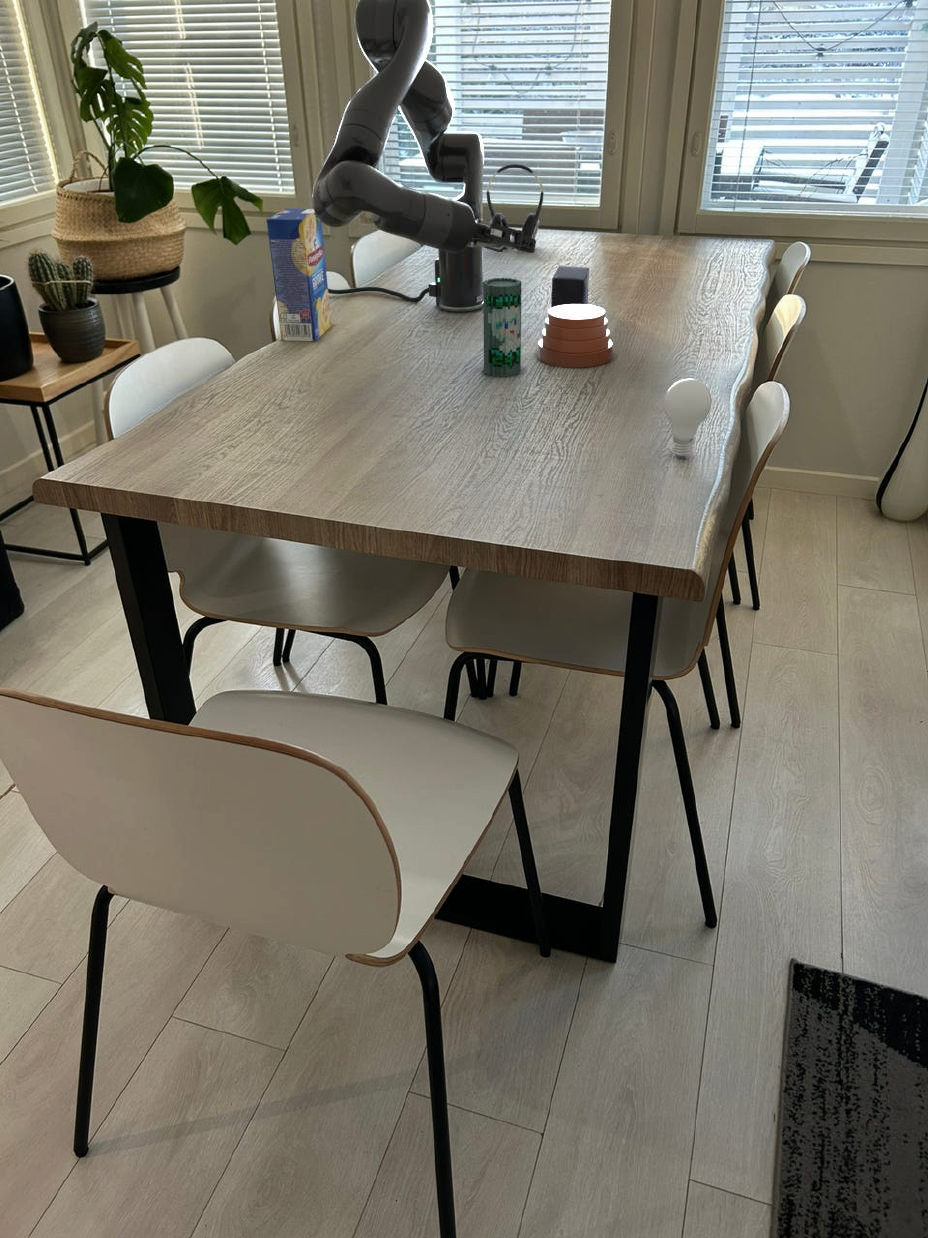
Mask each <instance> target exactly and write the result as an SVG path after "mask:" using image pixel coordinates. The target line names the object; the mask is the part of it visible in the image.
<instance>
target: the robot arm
mask: <svg viewBox="0 0 928 1238" xmlns="http://www.w3.org/2000/svg"><path fill="white" fill-rule="evenodd" d="M433 21H434V20H433V12H432V8H431V4H430V2H429V0H358V2H357V3H356V7H355V10H354V27H355V33H356V37H357V40H358V43H359V47H360V48H361V51H362V52H363V55H364V56H365V57H366V59H367V61H368V62H369V63H370V65H371V66H372V67H373V68H374V70H375V71H376V74H375V75H374V76H373V77H372V78H371V79H369V80H368V81H367V82H366V83H365V84H363V86H361V88H359V90H358V91H357V92H356V93H355V94H354V95H353V96H352V98H351V100H350V101H349V102H348V104H347V106H346V108H345V111H344V113H343V116H342V120H341V122H340V125H339V128H338V132H337V135H336V138H335V142H334V145H333V146H332V149H331V151H330V153H329V154H328V156H327V158H326V159H325V162H324V163H323V166H322V168H321V169H320V171H319V174H318V175H317V177H316V180H315V181H314V184H313V188H312V194H311V203H312V209H314V211H315V213H316V215H317V217H318V218H319V219H320V221H322V224H324V225H325V226H328V227H330V228H335V229H336V228H337V229H338V228H343V227H345V226H347V225H349V224H351V223H352V222H353V221H354V220H355V219H357V218H358V217H359V216H360V215H361V214H362V213H365V212H366V213H371V219H372V222H373V224H374V226H375V227H376V228H377V229H378V230H380V231H382V232H383V233H387V234H390V235H393V236H397V237H401V238H404V239H407V240H410V241H412V242H414V243H416V244H419V245H421V246H426V247H429V248H433V249H436V250H437V258H436V259H434V281H433V282H430V283H428V287H426V288H424V289H423V290H422V291H421V292H420V293H419V295H418V296H415V297H411V296H409V295H407V294H404V293H403V292H399V291H396V290H393V289H389V288H385V287H381V286H361V287H360V286H359V287H352V288H344V289H332V288H328V294H330V295H346V294H354V293H363V292H378V293H384V294H387V295H390V296H393V297H398V298H400V299H402V300H405V301H407V302H413V303H417V302H420V301H422V300H423V299H424V297H425V296H426V295H427V294H428V297H431V298H432V297H433V298H435V306H436V307H438V308H439V309H440V310H443V311H446V312H452V313H453V312H454V313H467V312H474V311H478V310H481V309H482V308H483V282H484V251H483V250H484V249H487V250H490V251H494V252H497V253H502V252H503V251H504V248H508V249H511V250H518V251H521V252H524V253H527V254H534V252H535V250H536V245H537V240H536V238H535V239H533V238H530V237H527V236H523V232H522V229H521V230H520V229H515V228H511V227H509V226H508V227H509V228H508V227H505V226H502V225H498V224H497V223H490V222H489V221H488V220H485V219H483V201H484V200H483V199H484V198H483V190H484V189H483V186H484V166H485V165H484V162H485V152H484V151H485V150H484V143H483V139H482V136H481V135H480V134H479V133H477V132H474V131H447V130H448V128H449V127H450V124H451V123H452V120H453V117H454V113H455V101H454V97H453V95H452V92H451V90H450V86H448V82H447V79H446V78H445V77H444V75H443V73H442V72H441V71H440V70H439V69H438V68H437V67H436V65H434V64H433V63H431V62H430V61H429V60H427V59H426V58H427V55H428V53H429V50H430V46H431V43H432V38H433V32H434V31H433V30H434V29H433V28H434V26H433V25H434V22H433ZM398 110H399V111H400V113H401V115H402V117H403V119H404V121H405V122H406V124H407V125H408V127H409V129H410V131H411V133H412V135H413V136H414V139H415V140H416V142H417V145H418V148H419V151H420V153H421V156H422V158H423V161H424V162H423V163H424V165H425V167H426V169H427V172H428V174H429V176H430V178H431V179H432V180H433V181H434V182H435V183H438V184H441V185H442V184H443V185H464V186H463V192H462V193H461V194H460V195H458V196H457V197H455V198H453V199H452V198H449V197H446V196H443V195H441V194H440V195H439V194H436V193H433V192H429V191H422V190H418V189H415V188H411V187H409V186H405V185H402V184H398V183H396V182H395V181H394V180H392V179H391V178H389V177H388V176H387V175H385V174H384V173H382V172H381V171H379V170H377V169H376V168H377V167H378V165H379V163H380V162H381V159H382V157H383V153H384V150H385V147H386V145H387V141H388V138H389V134H390V131H391V128H392V125H393V123H394V120H395V118H396V115H397V113H398Z"/></svg>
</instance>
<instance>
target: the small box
mask: <svg viewBox="0 0 928 1238" xmlns="http://www.w3.org/2000/svg"><path fill="white" fill-rule="evenodd" d="M589 283H590V267H583V266H581V267H580V266H565V265H559V266H558V267H557V268H556V271H555V272H554V274H553V276H552V278H551V297H550V309H551V308H553V307H556V306H560V305H567V304H586V305H589V304H588V303H589V302H588V301H589Z"/></svg>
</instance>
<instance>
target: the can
mask: <svg viewBox="0 0 928 1238" xmlns="http://www.w3.org/2000/svg"><path fill="white" fill-rule="evenodd" d="M482 308H483V309H482V310H483V311H482V313H483V315H482V317H483V318H482V319H483V321H482V322H483V372H484V373H485V374H487V375H489V376H493V377H501V378H502V377H510V376H515V375H517V374H520V372H521V371H522V367H521V366H522V365H521V363H522V362H521V360H522V359H521V358H522V357H521V356H522V355H521V354H522V280H519V279H517V278H512V277H493V278H488V279H485V280H483V307H482Z"/></svg>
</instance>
